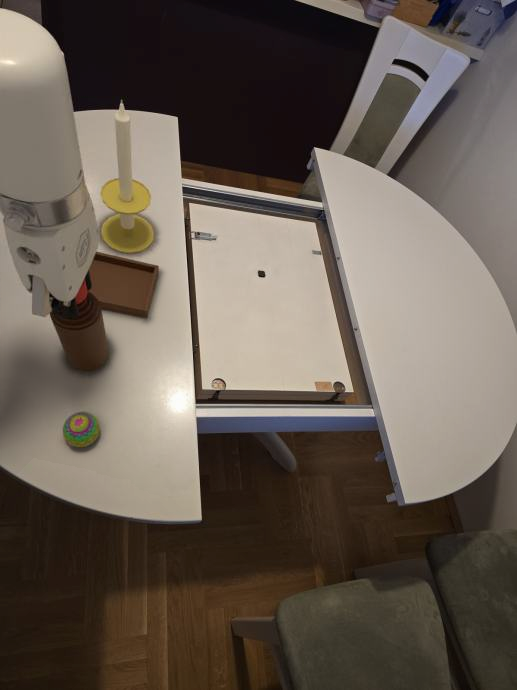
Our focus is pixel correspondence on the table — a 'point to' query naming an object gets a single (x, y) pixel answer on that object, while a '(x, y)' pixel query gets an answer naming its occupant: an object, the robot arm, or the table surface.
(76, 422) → the egg
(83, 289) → the cap
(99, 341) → the bottle
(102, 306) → the tray
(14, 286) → the table surface
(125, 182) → the candle
